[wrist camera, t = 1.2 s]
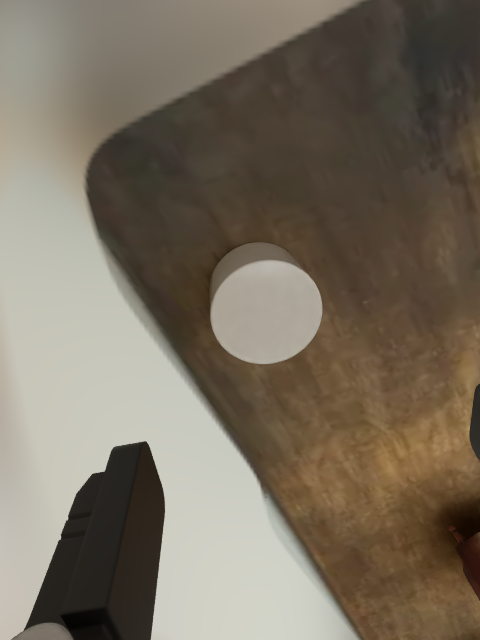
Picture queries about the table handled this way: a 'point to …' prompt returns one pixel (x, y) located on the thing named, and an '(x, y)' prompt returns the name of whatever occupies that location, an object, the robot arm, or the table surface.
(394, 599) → the table surface
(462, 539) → the alarm clock
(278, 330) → the stone
